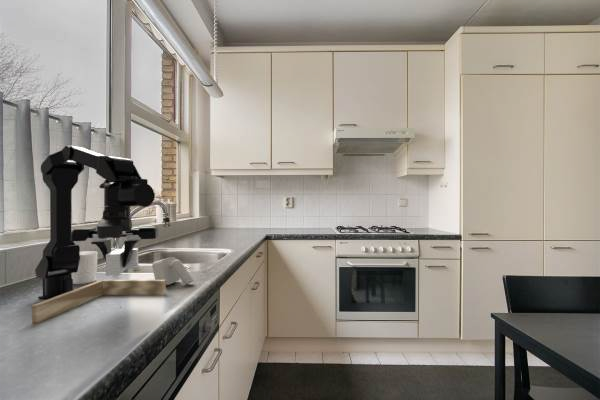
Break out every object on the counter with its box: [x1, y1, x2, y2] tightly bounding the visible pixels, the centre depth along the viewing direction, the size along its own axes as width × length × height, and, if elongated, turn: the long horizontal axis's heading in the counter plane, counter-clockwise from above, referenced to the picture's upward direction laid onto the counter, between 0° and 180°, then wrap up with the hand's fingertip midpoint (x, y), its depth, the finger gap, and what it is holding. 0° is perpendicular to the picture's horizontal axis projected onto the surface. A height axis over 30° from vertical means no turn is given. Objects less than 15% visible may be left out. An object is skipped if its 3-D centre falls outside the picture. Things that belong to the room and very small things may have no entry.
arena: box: [31, 279, 167, 324], centre depth 81 cm, size 20×23×4 cm
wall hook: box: [151, 256, 194, 286], centre depth 102 cm, size 8×10×10 cm
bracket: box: [105, 247, 139, 276], centre depth 80 cm, size 9×6×5 cm, turn 18°
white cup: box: [72, 250, 99, 285], centre depth 107 cm, size 8×8×10 cm
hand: (117, 267), depth 79 cm, fingers closed on bracket, 3 cm apart
